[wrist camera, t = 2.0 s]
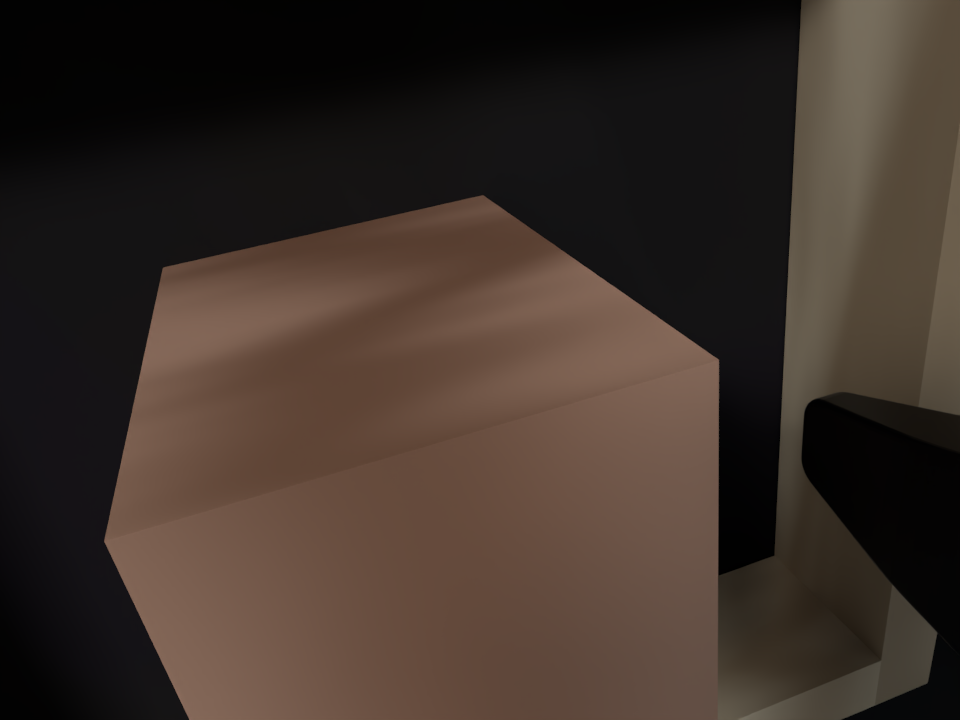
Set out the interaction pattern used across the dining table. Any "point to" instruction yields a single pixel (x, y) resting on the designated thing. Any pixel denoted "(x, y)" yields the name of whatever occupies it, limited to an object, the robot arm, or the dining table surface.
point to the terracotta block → (421, 483)
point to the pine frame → (854, 350)
